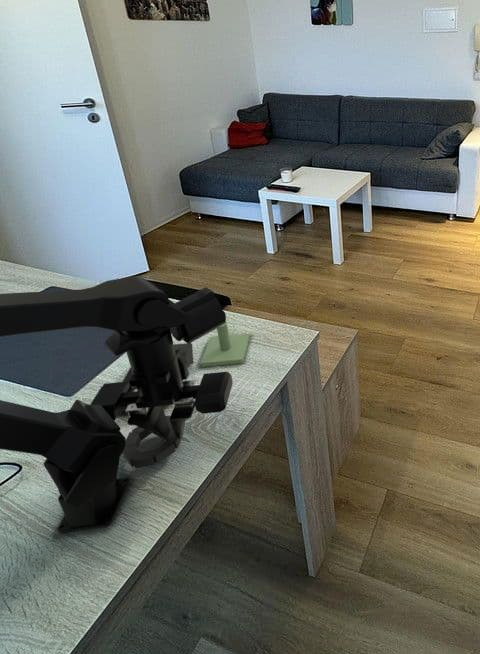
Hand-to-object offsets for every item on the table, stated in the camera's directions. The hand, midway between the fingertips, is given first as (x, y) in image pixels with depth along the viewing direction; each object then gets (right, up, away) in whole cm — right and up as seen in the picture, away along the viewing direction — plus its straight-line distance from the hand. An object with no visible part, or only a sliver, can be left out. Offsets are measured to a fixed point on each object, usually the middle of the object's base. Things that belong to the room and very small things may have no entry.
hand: (174, 436), depth 68 cm
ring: (-3, -1, 0) cm, 3 cm away
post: (-1, +6, +21) cm, 22 cm away
